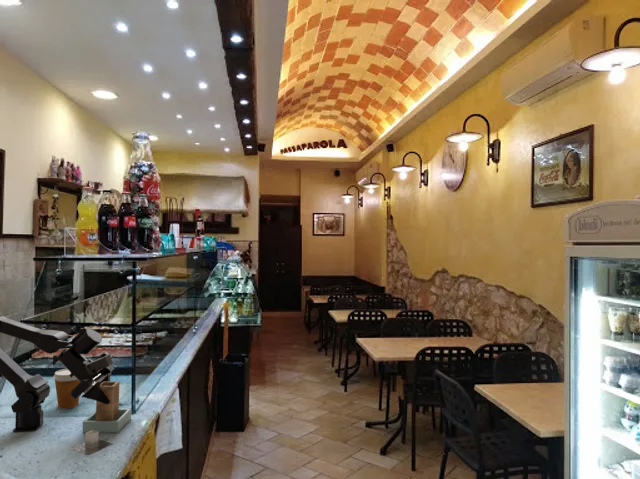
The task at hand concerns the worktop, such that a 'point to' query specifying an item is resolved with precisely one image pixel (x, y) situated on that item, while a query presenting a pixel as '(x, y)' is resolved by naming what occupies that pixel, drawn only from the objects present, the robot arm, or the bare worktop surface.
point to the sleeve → (112, 408)
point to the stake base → (90, 451)
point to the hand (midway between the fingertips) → (112, 399)
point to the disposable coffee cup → (65, 388)
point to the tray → (107, 423)
